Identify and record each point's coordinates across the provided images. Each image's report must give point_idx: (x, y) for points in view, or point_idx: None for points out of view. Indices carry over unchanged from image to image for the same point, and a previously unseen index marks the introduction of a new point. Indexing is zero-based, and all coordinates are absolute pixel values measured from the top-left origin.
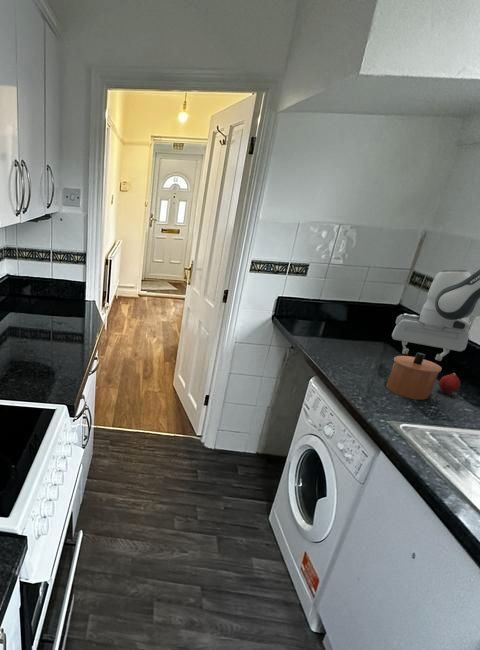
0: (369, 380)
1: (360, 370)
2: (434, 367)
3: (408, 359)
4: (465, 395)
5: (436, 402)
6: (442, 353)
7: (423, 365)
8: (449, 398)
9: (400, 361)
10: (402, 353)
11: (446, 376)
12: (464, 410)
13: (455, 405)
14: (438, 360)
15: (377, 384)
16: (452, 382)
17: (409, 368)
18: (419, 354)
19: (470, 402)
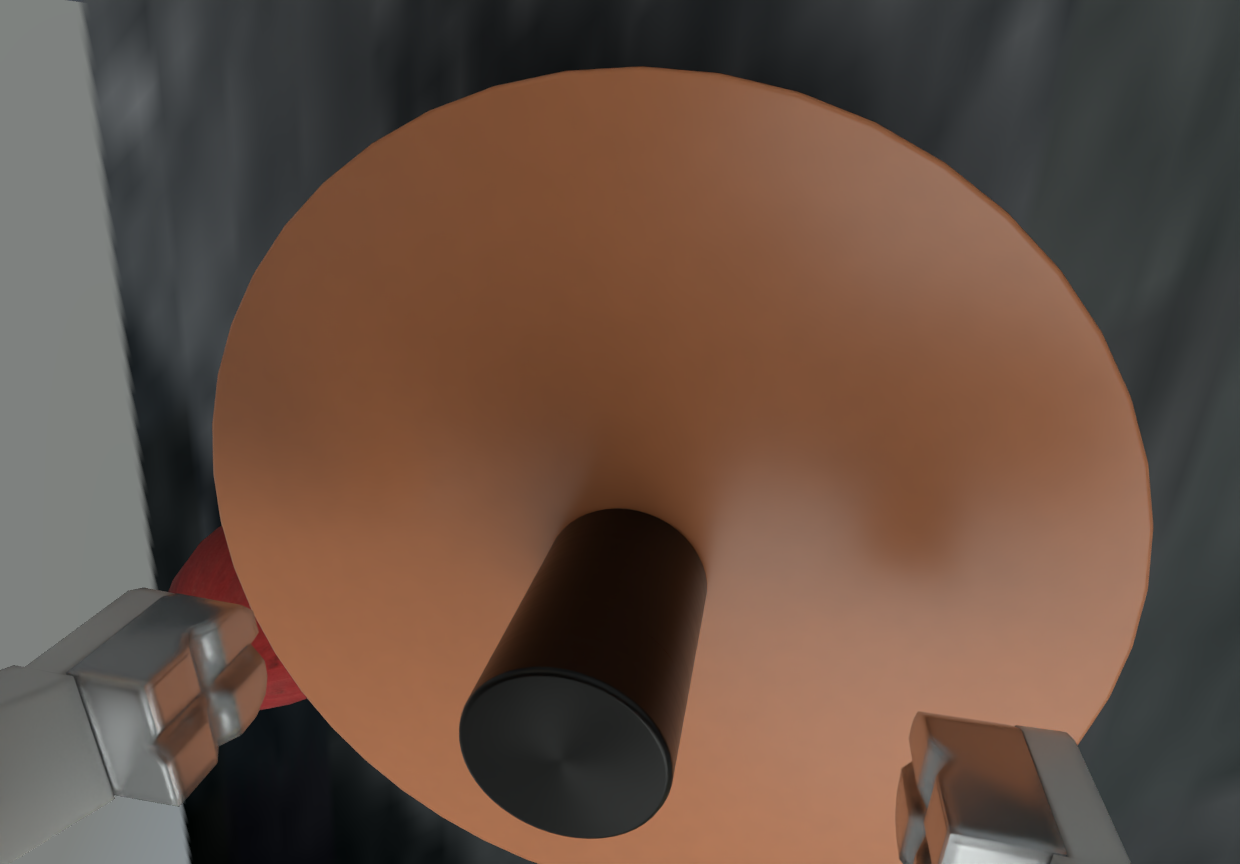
0: (1181, 413)
1: (1204, 723)
2: (325, 483)
3: (780, 720)
4: (188, 531)
5: (404, 107)
6: (2, 781)
7: (517, 487)
8: None
9: (1023, 488)
10: (1059, 735)
11: (274, 658)
12: (145, 50)
13: (231, 159)
14: (196, 603)
15: (1092, 313)
16: (227, 565)
17: (858, 119)
18: (610, 686)
19: (134, 365)
